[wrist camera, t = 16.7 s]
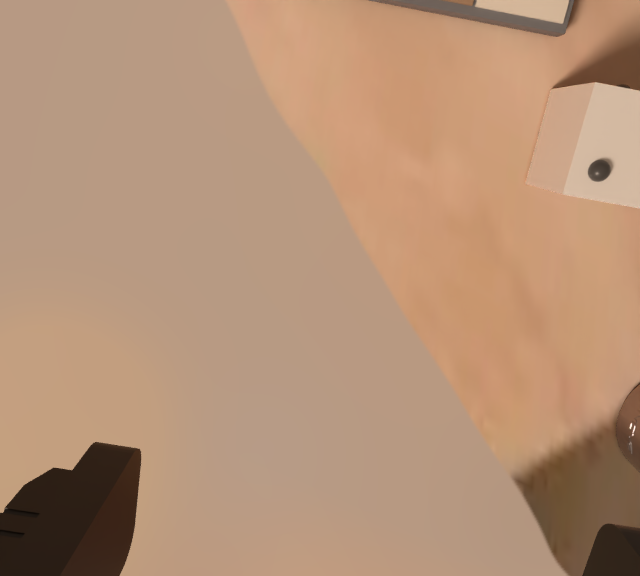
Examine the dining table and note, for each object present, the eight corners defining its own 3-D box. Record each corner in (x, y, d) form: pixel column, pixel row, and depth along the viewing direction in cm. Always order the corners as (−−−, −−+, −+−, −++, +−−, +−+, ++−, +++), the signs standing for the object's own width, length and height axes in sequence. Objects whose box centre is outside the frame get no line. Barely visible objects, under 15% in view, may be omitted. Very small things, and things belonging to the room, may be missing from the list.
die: (645, 96, 36) (714, 90, 30) (612, 199, 38) (671, 214, 31) (553, 79, 36) (604, 69, 29) (525, 183, 38) (566, 195, 31)
